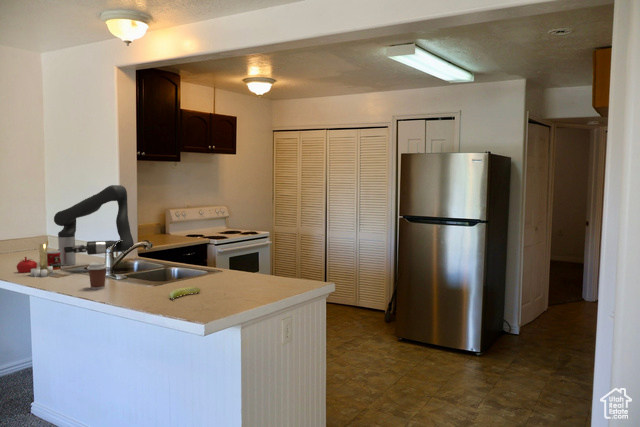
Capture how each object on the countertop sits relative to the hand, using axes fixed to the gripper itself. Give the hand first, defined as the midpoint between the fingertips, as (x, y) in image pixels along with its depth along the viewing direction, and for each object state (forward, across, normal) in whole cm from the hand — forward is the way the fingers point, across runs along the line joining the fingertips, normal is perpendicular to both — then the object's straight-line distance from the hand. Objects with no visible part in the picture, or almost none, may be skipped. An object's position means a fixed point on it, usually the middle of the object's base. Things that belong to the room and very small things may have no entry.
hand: (64, 249), depth 276 cm
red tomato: (+19, -16, +14) cm, 28 cm away
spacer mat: (+10, 0, +14) cm, 17 cm away
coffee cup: (-12, +44, +15) cm, 48 cm away
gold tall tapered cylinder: (+10, 0, +13) cm, 17 cm away
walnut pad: (+3, +8, +14) cm, 16 cm away
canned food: (+5, -18, +14) cm, 23 cm away
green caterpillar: (-44, +82, +16) cm, 95 cm away
